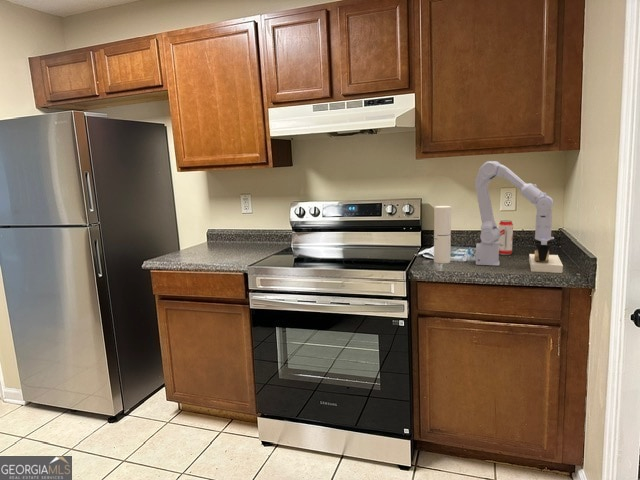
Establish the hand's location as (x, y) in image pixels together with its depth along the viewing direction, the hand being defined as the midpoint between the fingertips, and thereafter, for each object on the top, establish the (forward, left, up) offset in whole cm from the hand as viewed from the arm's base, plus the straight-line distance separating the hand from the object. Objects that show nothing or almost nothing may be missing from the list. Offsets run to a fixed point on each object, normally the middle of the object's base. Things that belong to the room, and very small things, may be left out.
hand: (541, 259), depth 176 cm
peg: (0, 0, -3) cm, 4 cm away
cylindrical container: (-40, +3, -4) cm, 40 cm away
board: (+2, +4, -4) cm, 6 cm away
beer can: (-14, +26, -4) cm, 30 cm away
